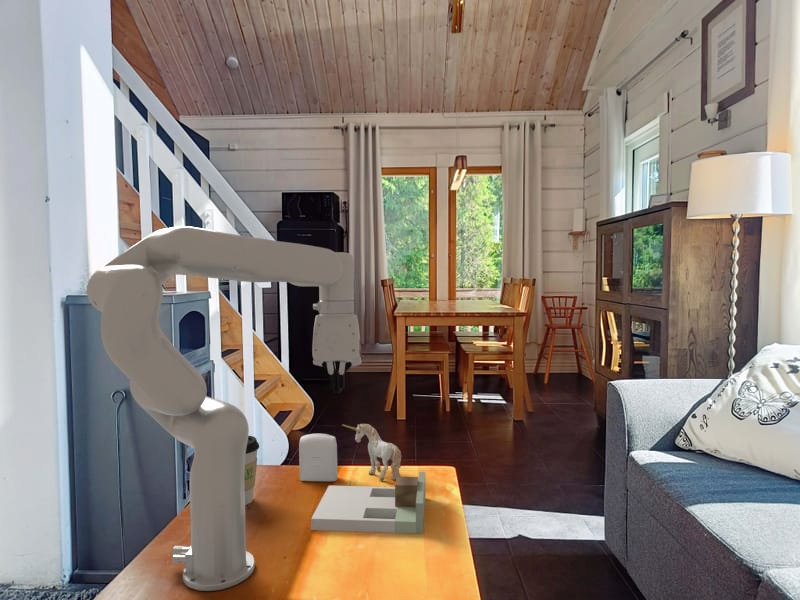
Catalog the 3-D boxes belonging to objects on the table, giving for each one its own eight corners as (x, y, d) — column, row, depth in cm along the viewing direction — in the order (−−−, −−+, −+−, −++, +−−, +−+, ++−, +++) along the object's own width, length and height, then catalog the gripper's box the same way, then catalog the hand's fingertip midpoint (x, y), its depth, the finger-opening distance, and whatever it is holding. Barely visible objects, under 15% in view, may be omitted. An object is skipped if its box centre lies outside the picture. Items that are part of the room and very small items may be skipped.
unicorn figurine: (358, 464, 153) (358, 418, 152) (414, 478, 141) (414, 429, 141) (342, 471, 147) (341, 424, 146) (398, 487, 136) (398, 436, 135)
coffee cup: (209, 507, 125) (207, 444, 124) (234, 491, 134) (233, 432, 133) (244, 513, 121) (243, 449, 121) (268, 496, 131) (267, 436, 130)
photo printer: (297, 482, 140) (296, 436, 139) (302, 476, 144) (301, 431, 143) (335, 483, 139) (335, 437, 138) (339, 477, 143) (338, 432, 142)
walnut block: (395, 506, 119) (395, 484, 118) (396, 497, 124) (396, 476, 123) (417, 507, 118) (417, 485, 118) (418, 498, 123) (418, 477, 123)
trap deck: (311, 530, 113) (311, 500, 113) (329, 495, 131) (328, 469, 131) (423, 533, 111) (422, 503, 111) (425, 497, 129) (425, 471, 129)
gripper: (298, 309, 112) (299, 394, 113) (368, 309, 111) (368, 395, 112) (307, 307, 120) (308, 387, 121) (372, 307, 119) (373, 388, 120)
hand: (337, 391), depth 116 cm, fingers closed
